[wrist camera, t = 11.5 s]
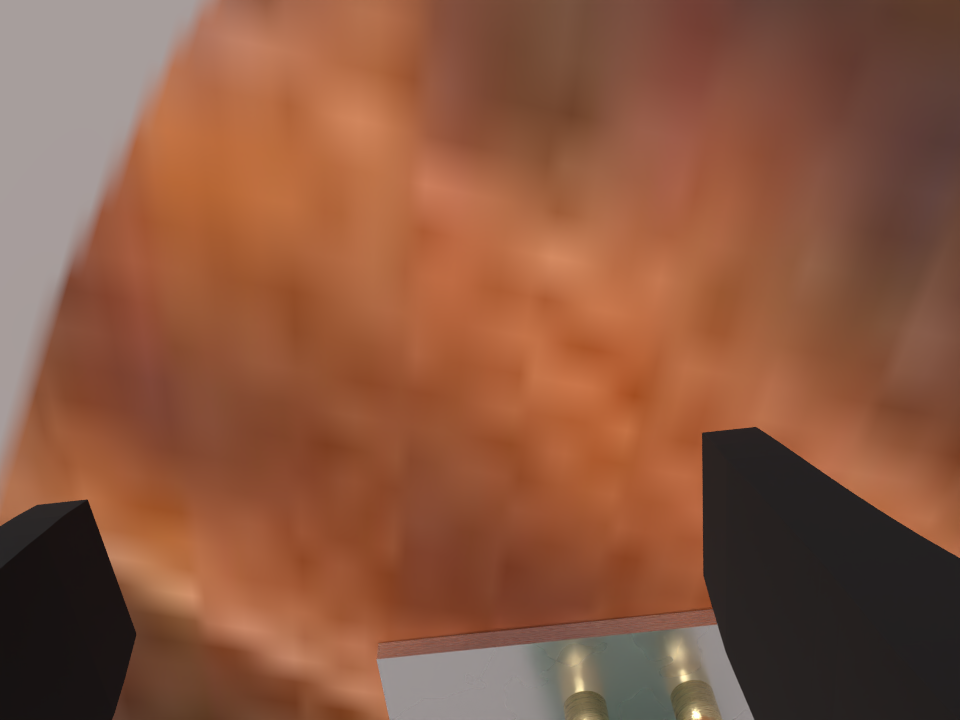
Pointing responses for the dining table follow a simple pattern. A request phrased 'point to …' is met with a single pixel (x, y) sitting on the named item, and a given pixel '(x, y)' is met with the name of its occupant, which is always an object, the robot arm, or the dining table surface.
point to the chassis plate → (560, 670)
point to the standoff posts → (688, 699)
